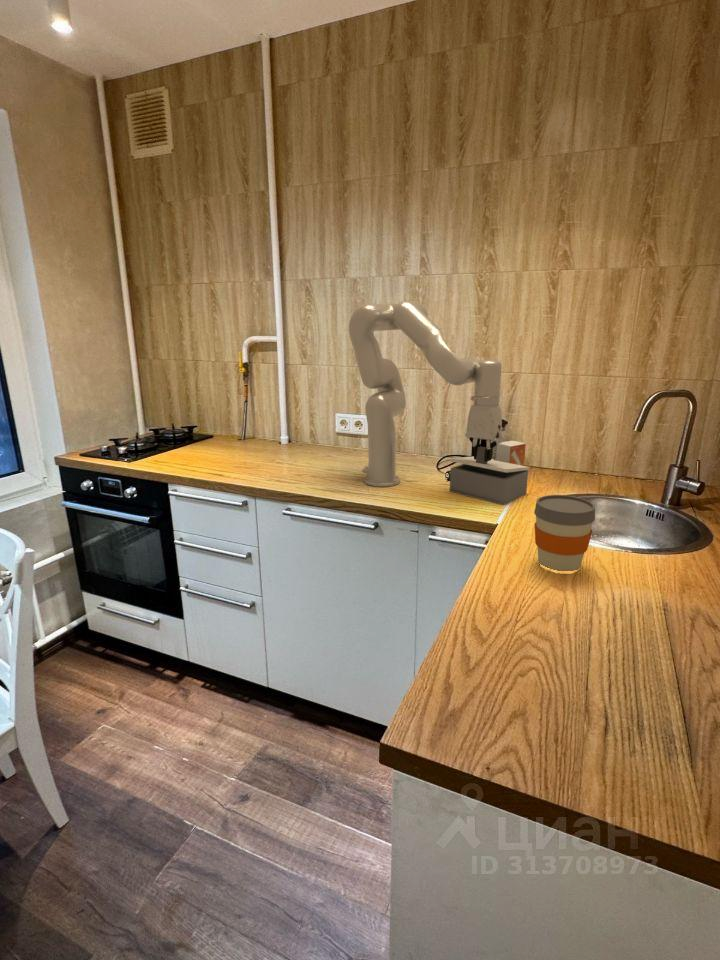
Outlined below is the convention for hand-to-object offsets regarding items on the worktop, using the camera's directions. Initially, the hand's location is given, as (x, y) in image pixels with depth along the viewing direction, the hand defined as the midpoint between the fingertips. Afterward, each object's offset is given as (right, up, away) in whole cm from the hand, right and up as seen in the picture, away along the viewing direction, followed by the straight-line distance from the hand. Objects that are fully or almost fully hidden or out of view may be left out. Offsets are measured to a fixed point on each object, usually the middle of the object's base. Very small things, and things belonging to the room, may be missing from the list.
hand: (482, 459), depth 161 cm
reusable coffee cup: (+7, -26, -44) cm, 52 cm away
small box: (+14, -6, +21) cm, 26 cm away
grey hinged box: (+3, -11, +6) cm, 13 cm away
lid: (+3, -2, +4) cm, 5 cm away
